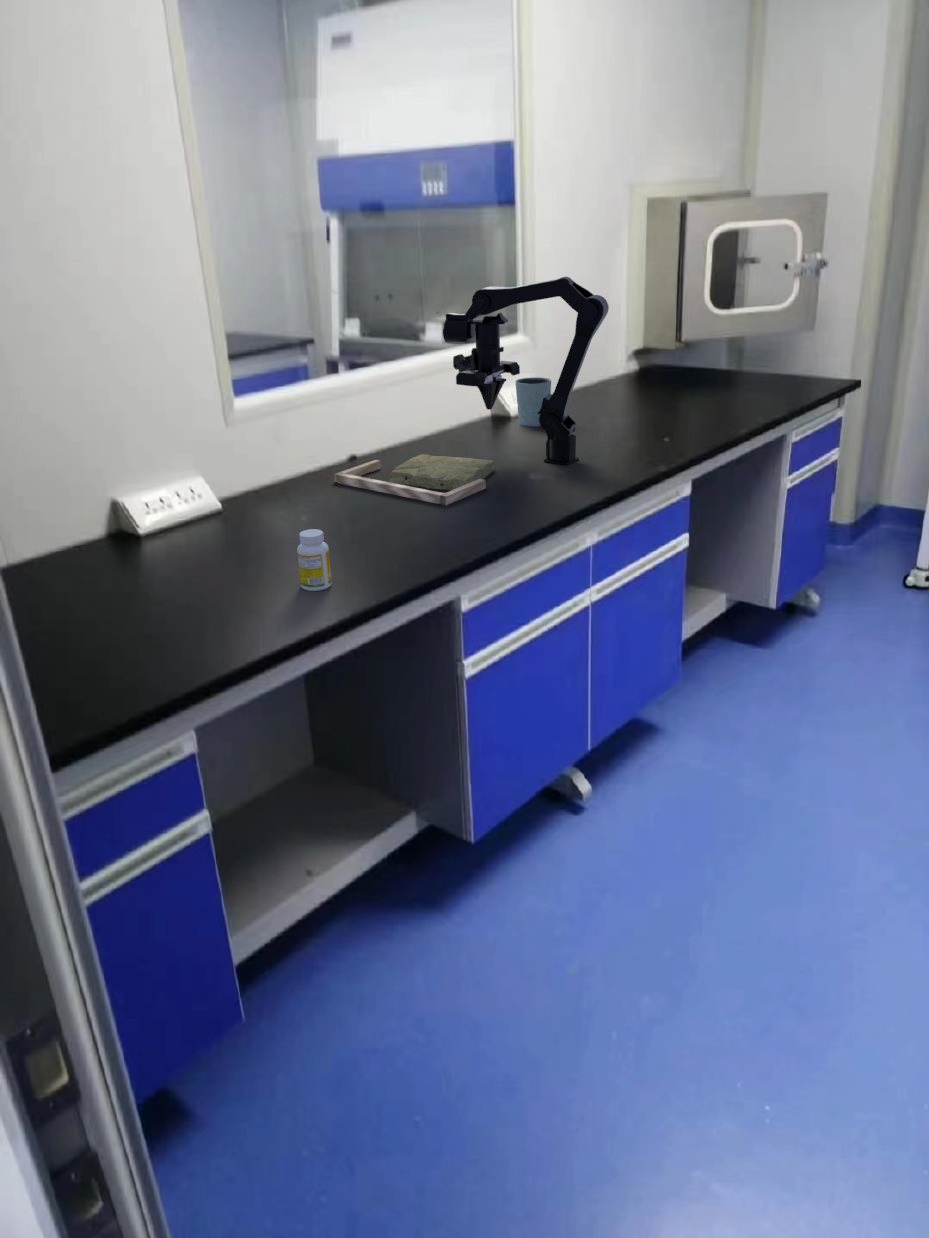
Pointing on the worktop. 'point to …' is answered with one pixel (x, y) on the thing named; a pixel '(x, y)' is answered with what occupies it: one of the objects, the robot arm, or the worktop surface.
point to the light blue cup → (531, 399)
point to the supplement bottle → (314, 561)
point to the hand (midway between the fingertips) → (489, 409)
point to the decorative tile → (441, 471)
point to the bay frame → (447, 498)
